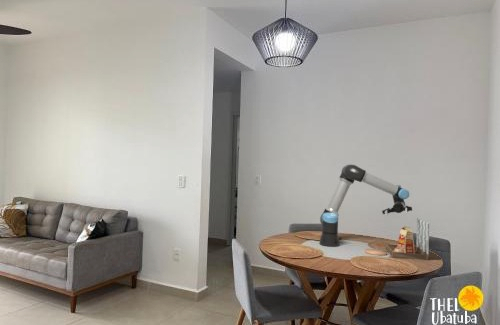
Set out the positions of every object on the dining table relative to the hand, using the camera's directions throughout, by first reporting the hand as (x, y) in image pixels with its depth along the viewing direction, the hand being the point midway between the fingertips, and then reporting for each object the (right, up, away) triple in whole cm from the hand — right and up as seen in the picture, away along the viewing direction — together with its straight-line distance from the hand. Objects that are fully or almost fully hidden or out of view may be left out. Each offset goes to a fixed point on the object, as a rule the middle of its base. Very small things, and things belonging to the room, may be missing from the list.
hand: (395, 212), depth 244 cm
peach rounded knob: (-3, -28, -10) cm, 30 cm away
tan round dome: (-15, -28, -2) cm, 32 cm away
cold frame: (+5, -28, -4) cm, 29 cm away
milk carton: (+5, -29, -4) cm, 29 cm away
